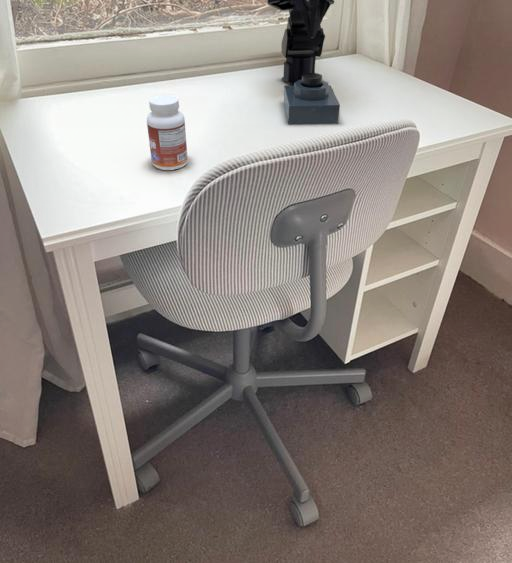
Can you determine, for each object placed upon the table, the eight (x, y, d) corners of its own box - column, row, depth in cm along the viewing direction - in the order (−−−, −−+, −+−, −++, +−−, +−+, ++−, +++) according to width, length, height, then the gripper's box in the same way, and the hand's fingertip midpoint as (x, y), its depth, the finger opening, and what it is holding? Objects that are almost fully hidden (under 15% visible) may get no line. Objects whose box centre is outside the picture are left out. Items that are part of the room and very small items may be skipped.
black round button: (300, 83, 110) (301, 72, 109) (320, 83, 110) (320, 72, 109) (302, 89, 107) (303, 79, 106) (322, 89, 107) (323, 78, 106)
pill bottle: (151, 156, 94) (144, 93, 88) (186, 154, 95) (181, 91, 88) (152, 172, 90) (144, 107, 83) (189, 169, 90) (184, 104, 84)
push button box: (283, 103, 116) (284, 75, 113) (329, 103, 117) (331, 74, 113) (288, 124, 107) (289, 94, 103) (338, 123, 107) (341, 93, 104)
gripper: (251, -49, 105) (251, 36, 108) (335, -75, 94) (332, 20, 97) (282, -31, 114) (282, 47, 117) (363, -53, 103) (360, 33, 106)
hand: (311, 37), depth 109 cm, fingers closed
